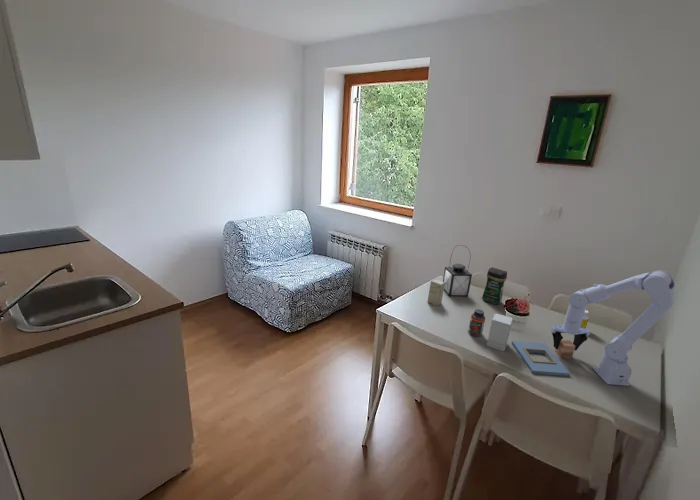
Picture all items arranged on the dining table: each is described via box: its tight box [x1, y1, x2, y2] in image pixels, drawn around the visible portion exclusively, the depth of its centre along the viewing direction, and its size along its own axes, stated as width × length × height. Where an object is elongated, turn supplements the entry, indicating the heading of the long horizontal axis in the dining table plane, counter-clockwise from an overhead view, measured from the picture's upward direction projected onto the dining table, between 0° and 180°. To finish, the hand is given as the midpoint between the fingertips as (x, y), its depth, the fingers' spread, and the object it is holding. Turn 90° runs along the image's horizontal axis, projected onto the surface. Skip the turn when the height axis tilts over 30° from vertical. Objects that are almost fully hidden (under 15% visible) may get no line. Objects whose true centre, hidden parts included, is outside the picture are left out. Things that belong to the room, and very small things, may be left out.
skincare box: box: [427, 278, 445, 307], centre depth 184 cm, size 6×4×12 cm
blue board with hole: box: [511, 340, 571, 377], centre depth 144 cm, size 20×14×2 cm
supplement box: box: [486, 312, 513, 352], centre depth 150 cm, size 7×7×13 cm
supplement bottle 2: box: [580, 309, 590, 329], centre depth 167 cm, size 5×5×10 cm
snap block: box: [554, 338, 575, 360], centre depth 146 cm, size 4×4×6 cm
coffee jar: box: [481, 266, 508, 305], centre depth 189 cm, size 10×8×19 cm
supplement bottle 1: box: [467, 308, 486, 337], centre depth 158 cm, size 6×6×11 cm
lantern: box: [442, 244, 473, 298], centre depth 196 cm, size 11×11×28 cm
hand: (564, 348), depth 146 cm, fingers open, 7 cm apart
